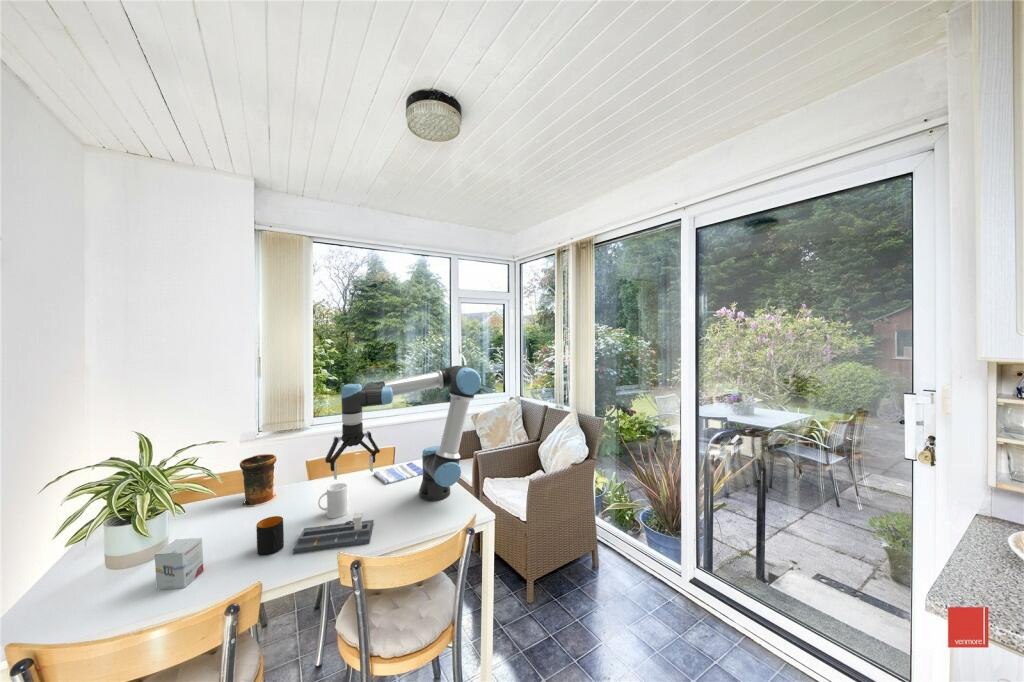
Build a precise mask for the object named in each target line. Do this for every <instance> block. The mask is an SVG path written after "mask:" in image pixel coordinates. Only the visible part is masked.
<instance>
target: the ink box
mask: <svg viewBox="0 0 1024 682" xmlns="http://www.w3.org/2000/svg"><path fill="white" fill-rule="evenodd" d="M154 564H155V565H154V567H155V584H156V587H155V588H156V590H157V591H161V590H174V589H175V590H176V589H185V588H187V587H188V585H190V584H191V583H192V582H193V581H194V580H196V578H197V577H198V576H199V575H200V574H201V573H203V572H204V555H203V539H202V537H198V538H197V537H189V538H180V539H179V538H177V539H174V540H173V541H172V542H170V543H169V544H168V545H166V546H165V547H163V548H162V549H160V550H159V551H157V552H156V553H155V554H154Z"/></svg>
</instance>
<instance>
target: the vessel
mask: <svg viewBox="0 0 1024 682" xmlns="http://www.w3.org/2000/svg"><path fill="white" fill-rule="evenodd" d="M276 462H277V456H276V455H275V454H271V453H270V454H269V453H267V454H266V453H263V454H257V455H253V456H251V457H250V456H249V457H246V458H243V459H242V460H241V461H240V462H239V467H240V469H241V470H242V475H243V487H244V488H243V489H244V498H245V499H244V501H245V500H246V501H245V503H244V501H242V504H241V506H243V507H246V508H247V507H248V508H251V507H257V506H260V505H264V504H265V505H266V504H267V503H271V501H273V500H274V499H275V498H276V496H277V494H276V493H274V486H275V483H274V479H275V476H274V470H275V468H276V467H275V463H276ZM273 494H275V495H273Z"/></svg>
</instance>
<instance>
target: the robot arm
mask: <svg viewBox="0 0 1024 682" xmlns="http://www.w3.org/2000/svg"><path fill="white" fill-rule="evenodd" d="M481 384H482V379H481V375H480V374H479V372H477V371H476V370H475V369H473V368H471V367H466V366H463V365H453V366H448V367H447V366H446V367H444V368H437V370H436V371H433V372H427V373H422V374H415V375H412V376H410V375H409V376H404V377H399V378H393V379H387V380H382V381H376V382H374V381H369V382H366V383H364V385H363V386H362V384H360V383H347V384H345V385H343V386H342V387H341V397H340V398H341V420H342V422H341V423H342V425H341V428H342V429H341V431H342V436H338V437H337V436H334V437H333V442H332V443H331V446H330V449H329V450H328V452H327V455H326V457H325V458H324V461H325V463H326V464H330V466H329V467H330V471H331V472H333V479H334V480H337V479H338V473H337V472H338V471H337V462H336V461H337V459H339V457H340V456H341V454H342V453H343V452H344V451H345V450H346V448H347V447H348V448H350V447H353V446H355V447H357V446H358V445H361V446H362V448H364V449H365V450H366V451H368V452H369V453H370V454H368V461H369V464H368V465H369V471H370V473H371V472H373V473H374V464H373V463H376V456H377V455H376V454H380V452H381V451H380V449H379V447H378V446H377V444H376V442H375V441H374V439H373V437H372V432H370V431H369V430H367V431H366V432H364V431H363V428H364V427H363V424H364V423H363V408H366V407H374V406H375V407H376V406H385V405H389V404H390V405H391V404H392V403H393V401H394V397H395V396H400V395H405V394H410V393H415V392H420V391H426V390H432V389H436V388H439V389H440V390H442V389H449V392H448V394H449V396H450V403H449V407H448V411H447V416H446V420H445V425H444V430H443V433H442V439H441V441H440V442H441V444H440V446H439V445H437V446H429V447H426V448H424V449H423V450H422V456H421V457H422V460H421V461H422V462H421V463H422V465H421V467H422V469H423V474H422V480H421V484H420V487H419V490H418V495H419V496H418V497H419V498H420V499H422V500H423V501H426V502H429V501H430V502H435V501H441V500H443V499H447V498H448V497H449V496H450V495H451V486H454V485H455V484H456V483H457V482H458V481H459V479H460V477H461V476H462V469H461V466H460V460H461V454H460V453H459V451H460V445H461V441H462V437H463V433H464V428H465V423H466V419H467V414H468V411H469V407H470V406H469V405H470V401H472V400H474V398H475V394H476V393H477V392H478V391H479V390H480V388H481ZM364 438H366V439H368V441H369V443H370V444H371V445H372V448H373V449H374V450H373V449H372V448H370V447H369V445H367V444H366V443H365V442H364V441H363V439H364ZM340 442H342V444H341V445H340V446H339V448H338V449H337V446H338V445H339V443H340ZM336 449H337V451H336V452H335V450H336Z"/></svg>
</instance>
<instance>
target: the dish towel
mask: <svg viewBox="0 0 1024 682" xmlns="http://www.w3.org/2000/svg"><path fill="white" fill-rule="evenodd" d="M373 475H374V476H375V477H376V478H377V479H378V480H379V481H381V482H382V483H383V484H384V485H390V484H394V483H395V484H396V483H397V482H398V483H399V482H401V481H405V480H408V479H412V478H415V477H419V476H423V468H421V467H419V466H417V465H416V464H414V463H413V462H408V464H407V463H404V464H401V465H398V466H396V467H390V468H386V469H382V470H379V471H377V470H376V471H375V472H374V471H373Z"/></svg>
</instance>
